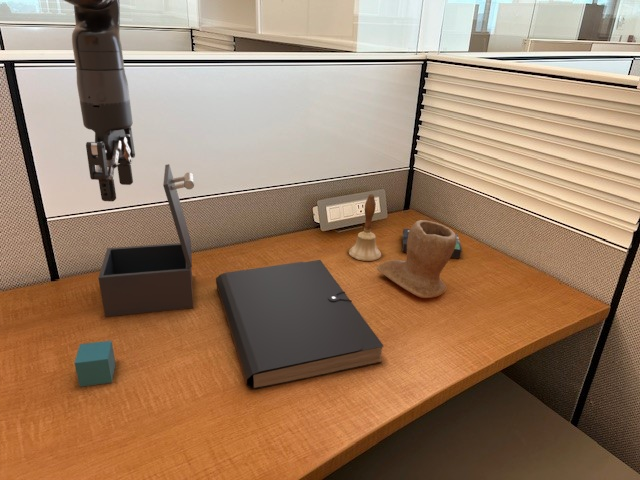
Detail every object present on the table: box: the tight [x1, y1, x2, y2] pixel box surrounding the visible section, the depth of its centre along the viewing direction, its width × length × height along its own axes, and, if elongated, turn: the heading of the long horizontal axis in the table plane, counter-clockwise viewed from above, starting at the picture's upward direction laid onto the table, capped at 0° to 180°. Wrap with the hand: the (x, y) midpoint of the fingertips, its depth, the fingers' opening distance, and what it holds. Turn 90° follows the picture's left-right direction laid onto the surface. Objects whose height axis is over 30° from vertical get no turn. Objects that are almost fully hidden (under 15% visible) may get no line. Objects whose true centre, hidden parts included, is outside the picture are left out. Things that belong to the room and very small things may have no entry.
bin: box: [97, 242, 194, 318], centre depth 99 cm, size 17×13×9 cm
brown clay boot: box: [376, 219, 456, 299], centre depth 106 cm, size 15×12×15 cm
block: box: [74, 340, 117, 388], centre depth 77 cm, size 5×5×5 cm
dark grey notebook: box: [215, 259, 384, 390], centre depth 93 cm, size 33×4×24 cm
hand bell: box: [348, 194, 382, 262], centre depth 119 cm, size 8×8×16 cm
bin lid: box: [162, 164, 195, 269], centre depth 95 cm, size 17×13×5 cm
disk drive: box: [402, 228, 463, 259], centre depth 127 cm, size 10×3×15 cm
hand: (118, 192), depth 85 cm, fingers open, 8 cm apart
